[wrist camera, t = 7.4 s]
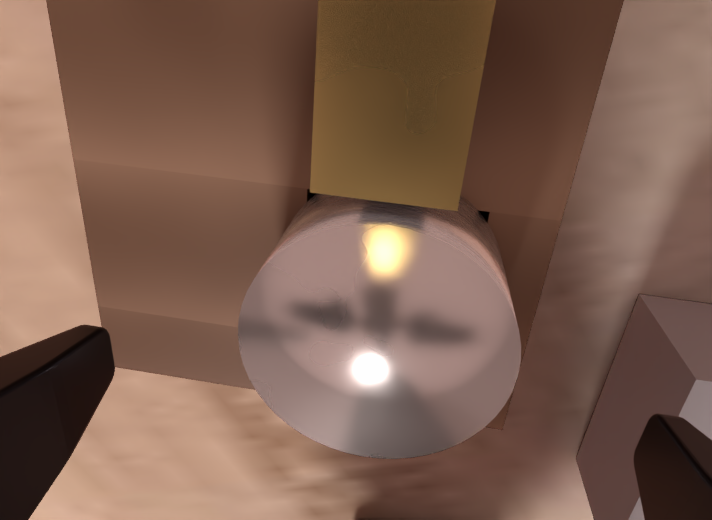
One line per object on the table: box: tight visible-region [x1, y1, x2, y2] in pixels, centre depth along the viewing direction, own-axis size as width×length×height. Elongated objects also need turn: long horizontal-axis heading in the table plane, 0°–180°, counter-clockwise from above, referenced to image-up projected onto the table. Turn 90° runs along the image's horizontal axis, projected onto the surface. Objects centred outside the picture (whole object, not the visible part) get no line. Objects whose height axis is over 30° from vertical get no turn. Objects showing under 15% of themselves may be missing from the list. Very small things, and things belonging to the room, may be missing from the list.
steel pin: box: [238, 193, 521, 459], centre depth 13 cm, size 5×5×7 cm
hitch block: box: [46, 0, 624, 430], centre depth 12 cm, size 12×11×7 cm
